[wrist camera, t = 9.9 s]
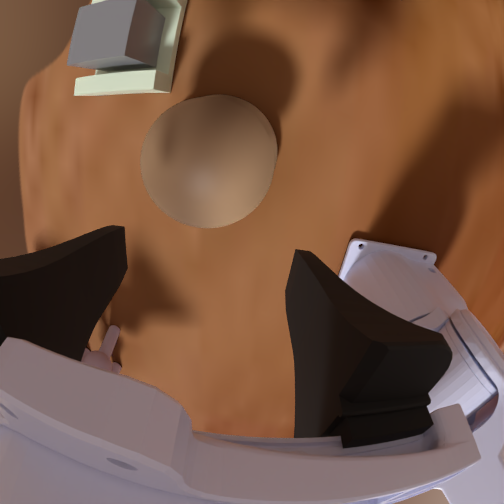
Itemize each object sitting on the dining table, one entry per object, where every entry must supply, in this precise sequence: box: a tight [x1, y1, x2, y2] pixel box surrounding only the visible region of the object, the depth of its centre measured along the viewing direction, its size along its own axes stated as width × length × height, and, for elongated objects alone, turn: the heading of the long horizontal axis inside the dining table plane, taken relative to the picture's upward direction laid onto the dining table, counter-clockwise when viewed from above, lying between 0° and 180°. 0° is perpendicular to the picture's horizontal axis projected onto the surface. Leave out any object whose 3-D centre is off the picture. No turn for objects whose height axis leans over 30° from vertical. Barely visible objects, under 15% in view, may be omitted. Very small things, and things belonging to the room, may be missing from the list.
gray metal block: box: [67, 0, 165, 71], centre depth 11 cm, size 4×4×5 cm
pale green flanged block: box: [74, 0, 187, 96], centre depth 13 cm, size 6×8×4 cm
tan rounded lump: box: [140, 95, 277, 228], centre depth 16 cm, size 8×8×6 cm
